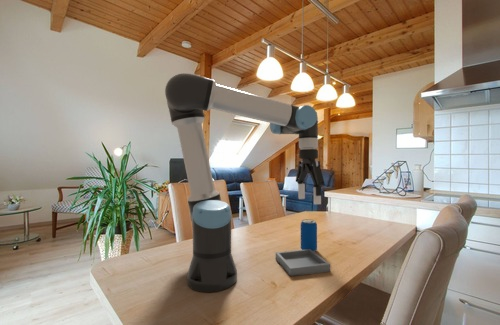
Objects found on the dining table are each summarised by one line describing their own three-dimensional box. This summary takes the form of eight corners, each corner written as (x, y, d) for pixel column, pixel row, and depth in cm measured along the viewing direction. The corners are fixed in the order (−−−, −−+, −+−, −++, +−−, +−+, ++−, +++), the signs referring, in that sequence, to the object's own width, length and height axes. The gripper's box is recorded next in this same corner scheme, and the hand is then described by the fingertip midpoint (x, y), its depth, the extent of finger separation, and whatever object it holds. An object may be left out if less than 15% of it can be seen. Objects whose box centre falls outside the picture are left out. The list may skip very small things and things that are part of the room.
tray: (290, 276, 75) (290, 268, 75) (275, 259, 89) (275, 252, 89) (330, 271, 78) (330, 263, 78) (310, 255, 92) (310, 248, 92)
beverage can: (317, 253, 94) (317, 223, 94) (300, 252, 95) (300, 222, 95) (316, 248, 100) (316, 219, 100) (300, 247, 101) (300, 218, 101)
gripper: (334, 147, 86) (334, 206, 86) (303, 150, 110) (303, 196, 110) (315, 147, 84) (315, 207, 84) (288, 150, 109) (288, 197, 109)
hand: (309, 201), depth 97 cm, fingers open, 13 cm apart
